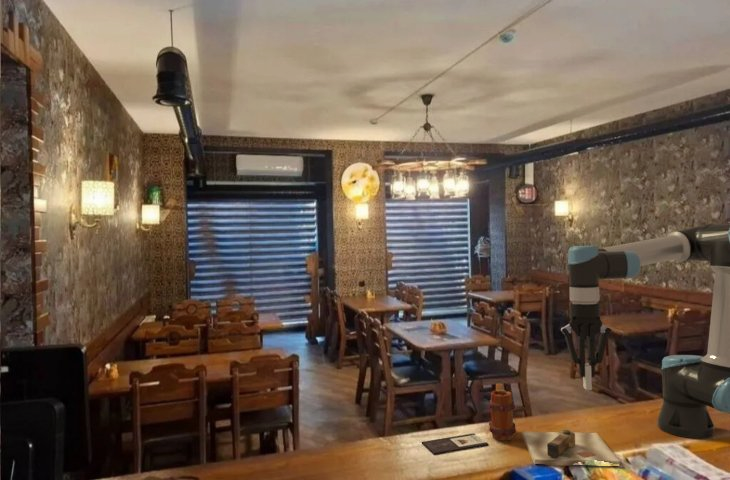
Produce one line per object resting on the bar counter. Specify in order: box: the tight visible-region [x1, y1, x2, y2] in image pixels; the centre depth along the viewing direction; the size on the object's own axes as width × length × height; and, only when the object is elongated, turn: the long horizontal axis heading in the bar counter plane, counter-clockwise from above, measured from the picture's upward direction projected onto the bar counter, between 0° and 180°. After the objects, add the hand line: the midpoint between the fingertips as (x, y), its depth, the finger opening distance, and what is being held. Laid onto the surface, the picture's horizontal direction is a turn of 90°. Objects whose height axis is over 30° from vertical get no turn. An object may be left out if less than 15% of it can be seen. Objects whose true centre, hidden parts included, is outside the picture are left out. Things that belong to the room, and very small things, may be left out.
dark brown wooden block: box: [547, 429, 575, 458], centre depth 145 cm, size 13×4×4 cm, turn 138°
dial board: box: [521, 431, 621, 467], centre depth 148 cm, size 22×20×2 cm
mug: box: [488, 382, 517, 442], centre depth 161 cm, size 15×8×15 cm, turn 168°
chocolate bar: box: [420, 433, 490, 456], centre depth 155 cm, size 9×1×18 cm
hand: (587, 388), depth 139 cm, fingers closed
